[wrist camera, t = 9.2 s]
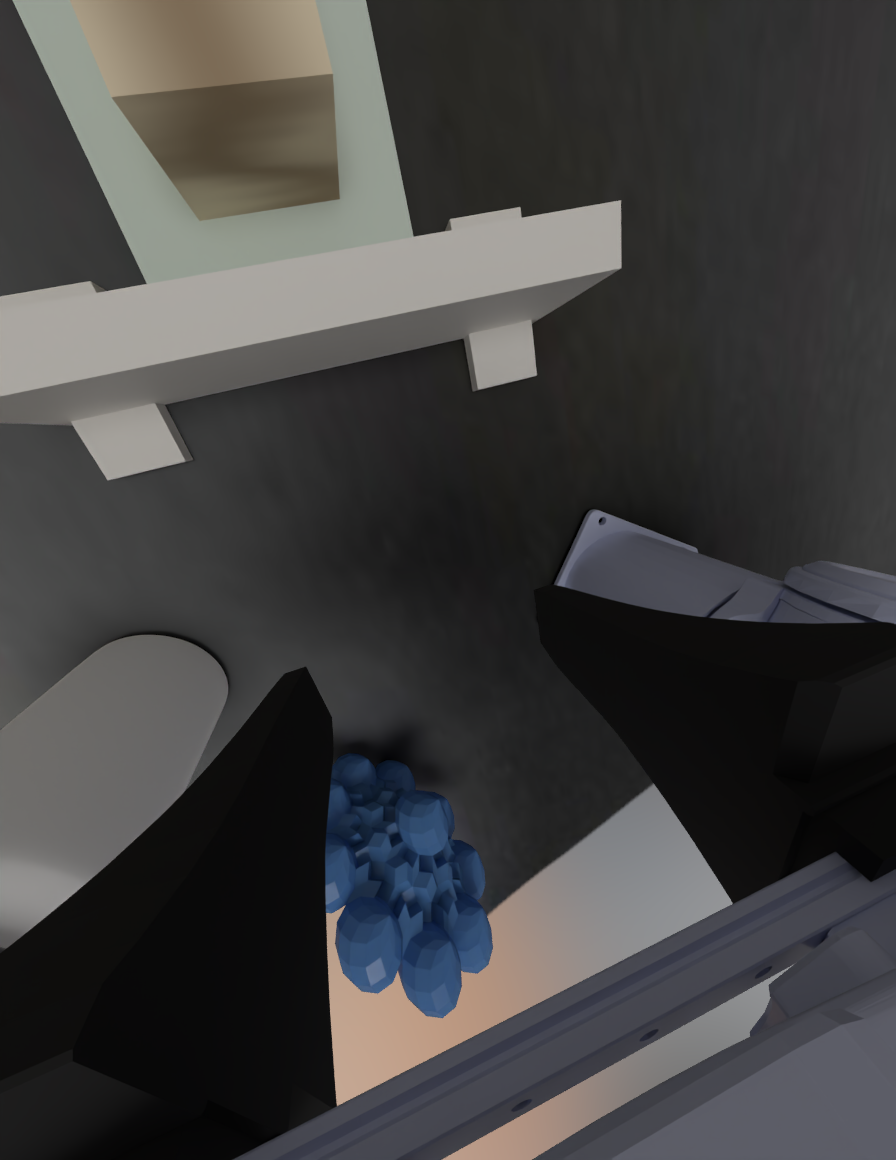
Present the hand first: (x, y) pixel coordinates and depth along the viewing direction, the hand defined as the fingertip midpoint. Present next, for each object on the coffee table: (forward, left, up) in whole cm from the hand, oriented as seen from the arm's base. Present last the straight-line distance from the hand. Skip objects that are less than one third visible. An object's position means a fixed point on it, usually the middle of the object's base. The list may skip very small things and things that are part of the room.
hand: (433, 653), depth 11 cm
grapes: (-4, +14, -10) cm, 17 cm away
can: (+10, +10, -10) cm, 17 cm away
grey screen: (+6, -8, -9) cm, 14 cm away
